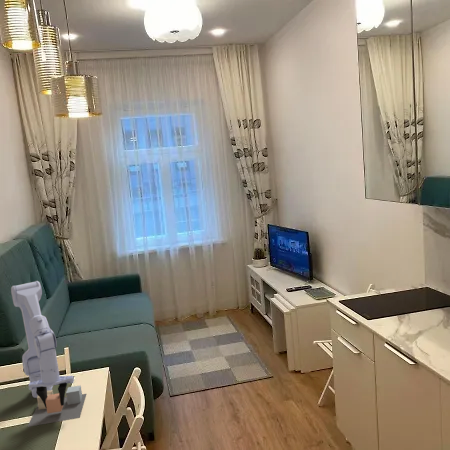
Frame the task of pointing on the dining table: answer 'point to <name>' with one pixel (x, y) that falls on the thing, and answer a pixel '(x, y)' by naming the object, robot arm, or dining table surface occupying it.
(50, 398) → the terracotta block
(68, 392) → the slate block
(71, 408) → the mat
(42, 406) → the birch block
